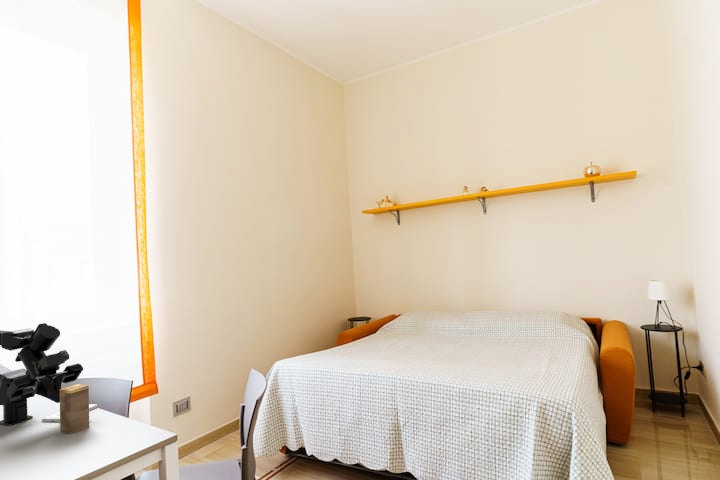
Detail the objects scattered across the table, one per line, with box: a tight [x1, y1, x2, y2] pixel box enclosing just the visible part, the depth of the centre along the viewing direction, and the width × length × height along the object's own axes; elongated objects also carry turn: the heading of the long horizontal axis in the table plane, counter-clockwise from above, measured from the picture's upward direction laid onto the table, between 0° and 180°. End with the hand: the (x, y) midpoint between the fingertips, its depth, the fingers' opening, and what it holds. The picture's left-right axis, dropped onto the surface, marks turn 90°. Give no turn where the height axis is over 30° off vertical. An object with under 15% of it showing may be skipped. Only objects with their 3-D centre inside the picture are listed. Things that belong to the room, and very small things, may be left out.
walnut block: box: [59, 383, 90, 435], centre depth 120 cm, size 5×5×12 cm
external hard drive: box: [41, 403, 98, 423], centre depth 133 cm, size 2×8×12 cm
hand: (59, 401), depth 122 cm, fingers closed
